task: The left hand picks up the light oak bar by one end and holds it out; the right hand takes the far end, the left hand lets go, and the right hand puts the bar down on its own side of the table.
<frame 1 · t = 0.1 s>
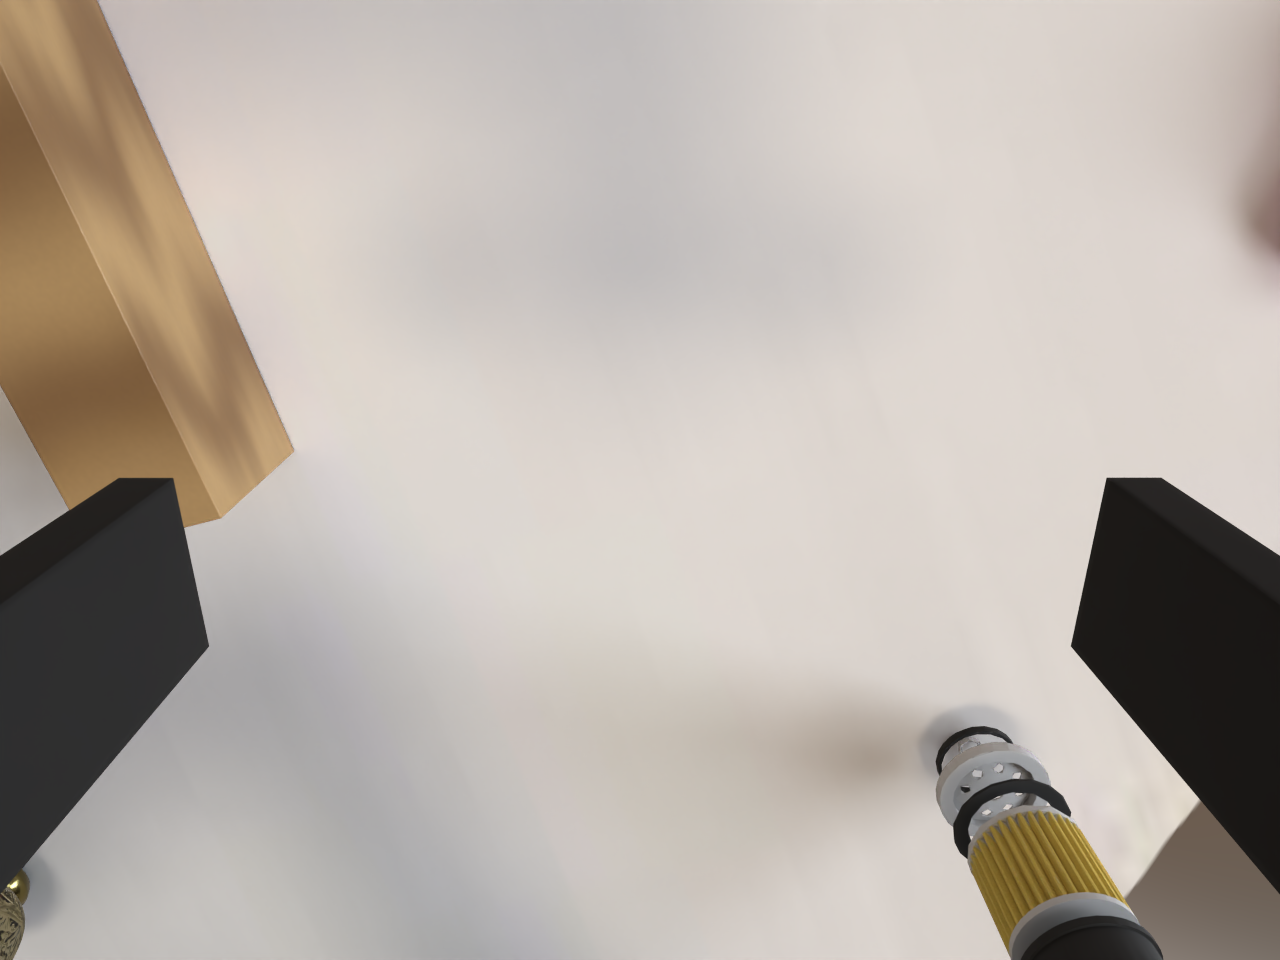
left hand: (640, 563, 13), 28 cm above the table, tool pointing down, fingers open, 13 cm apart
cup: (6, 873, 51), on the table
bar: (90, 143, 37), on the table
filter: (967, 743, 48), on the table
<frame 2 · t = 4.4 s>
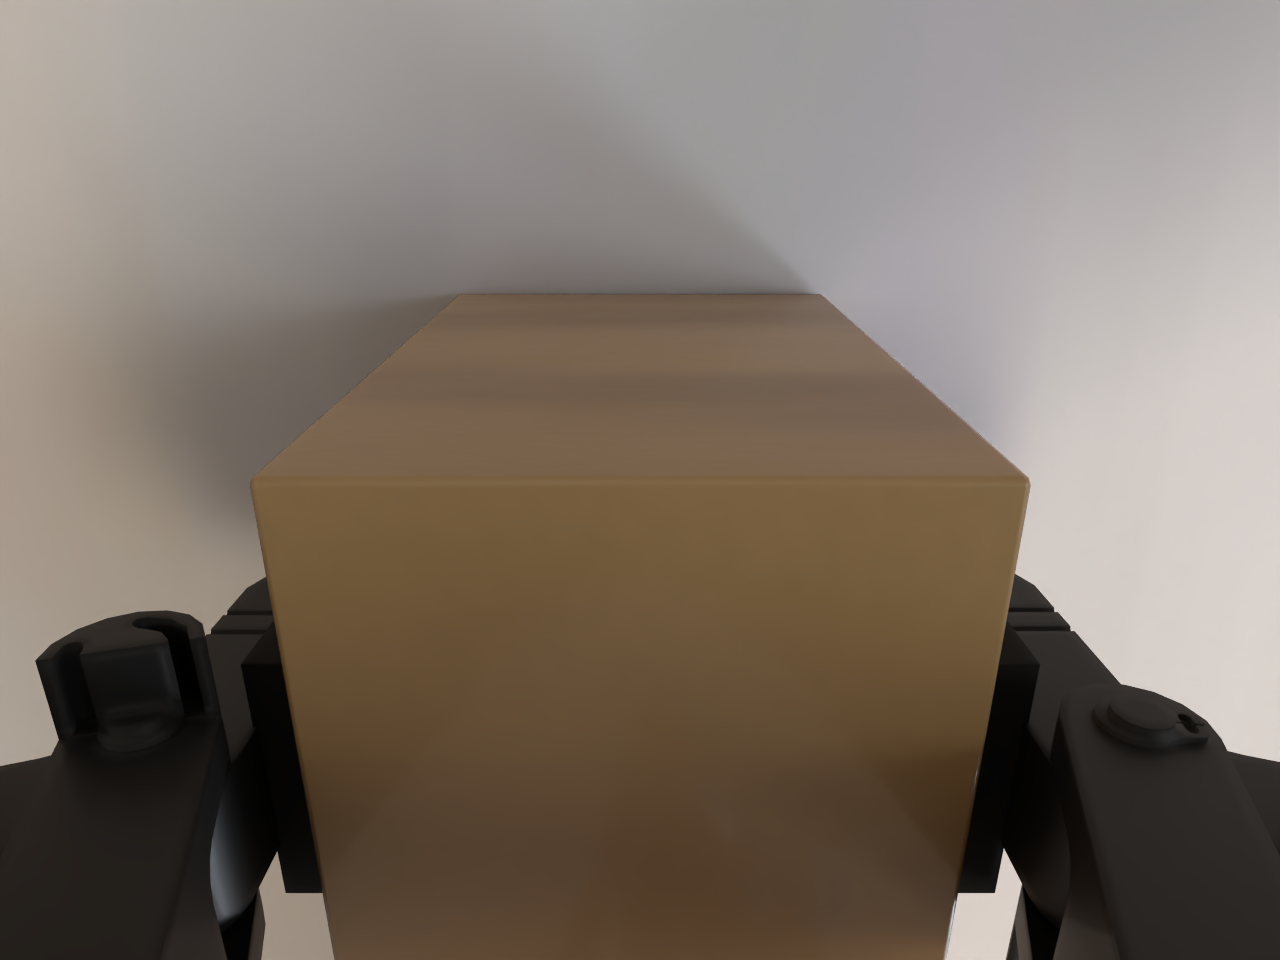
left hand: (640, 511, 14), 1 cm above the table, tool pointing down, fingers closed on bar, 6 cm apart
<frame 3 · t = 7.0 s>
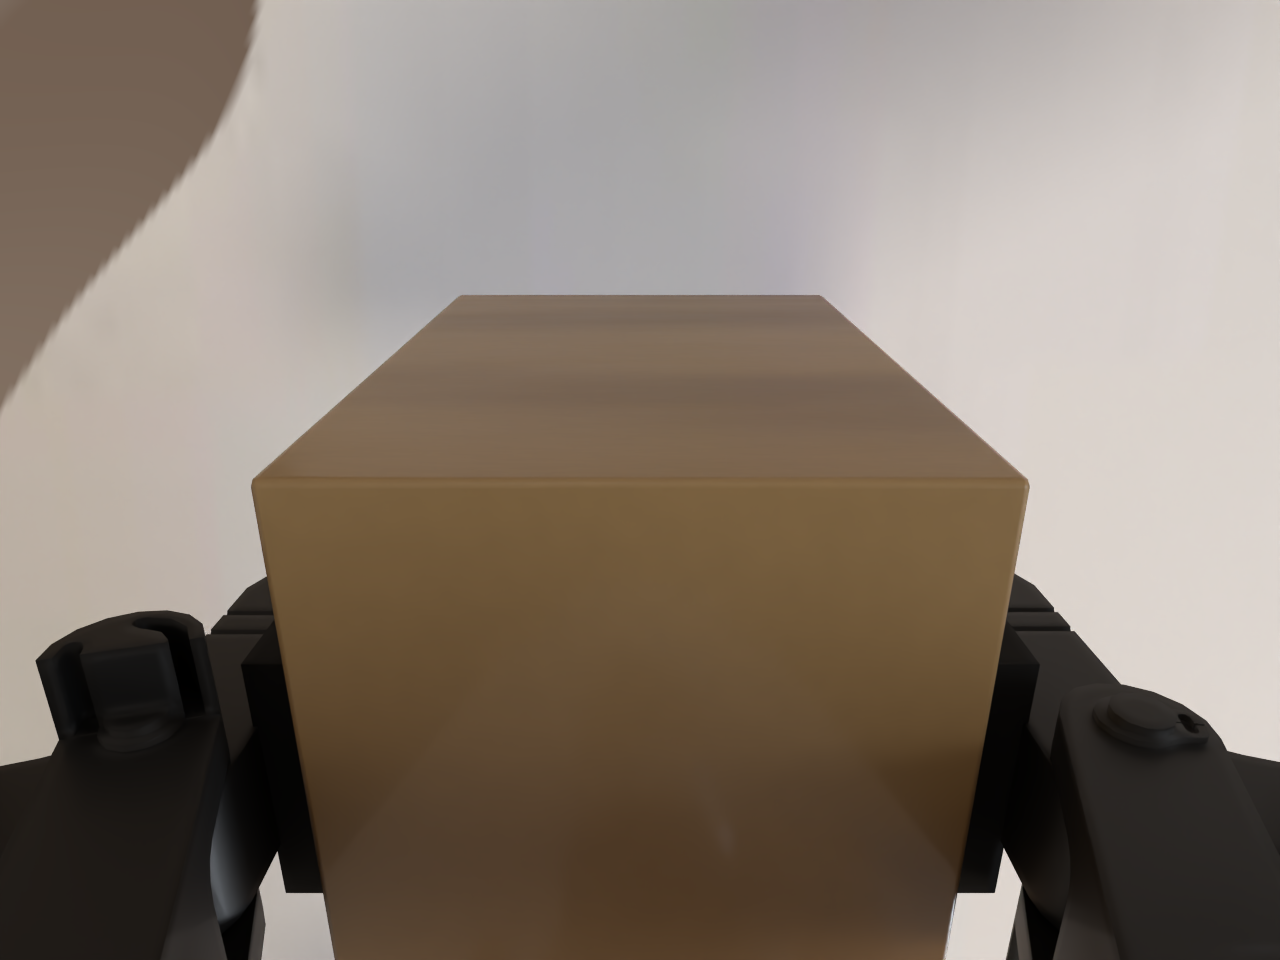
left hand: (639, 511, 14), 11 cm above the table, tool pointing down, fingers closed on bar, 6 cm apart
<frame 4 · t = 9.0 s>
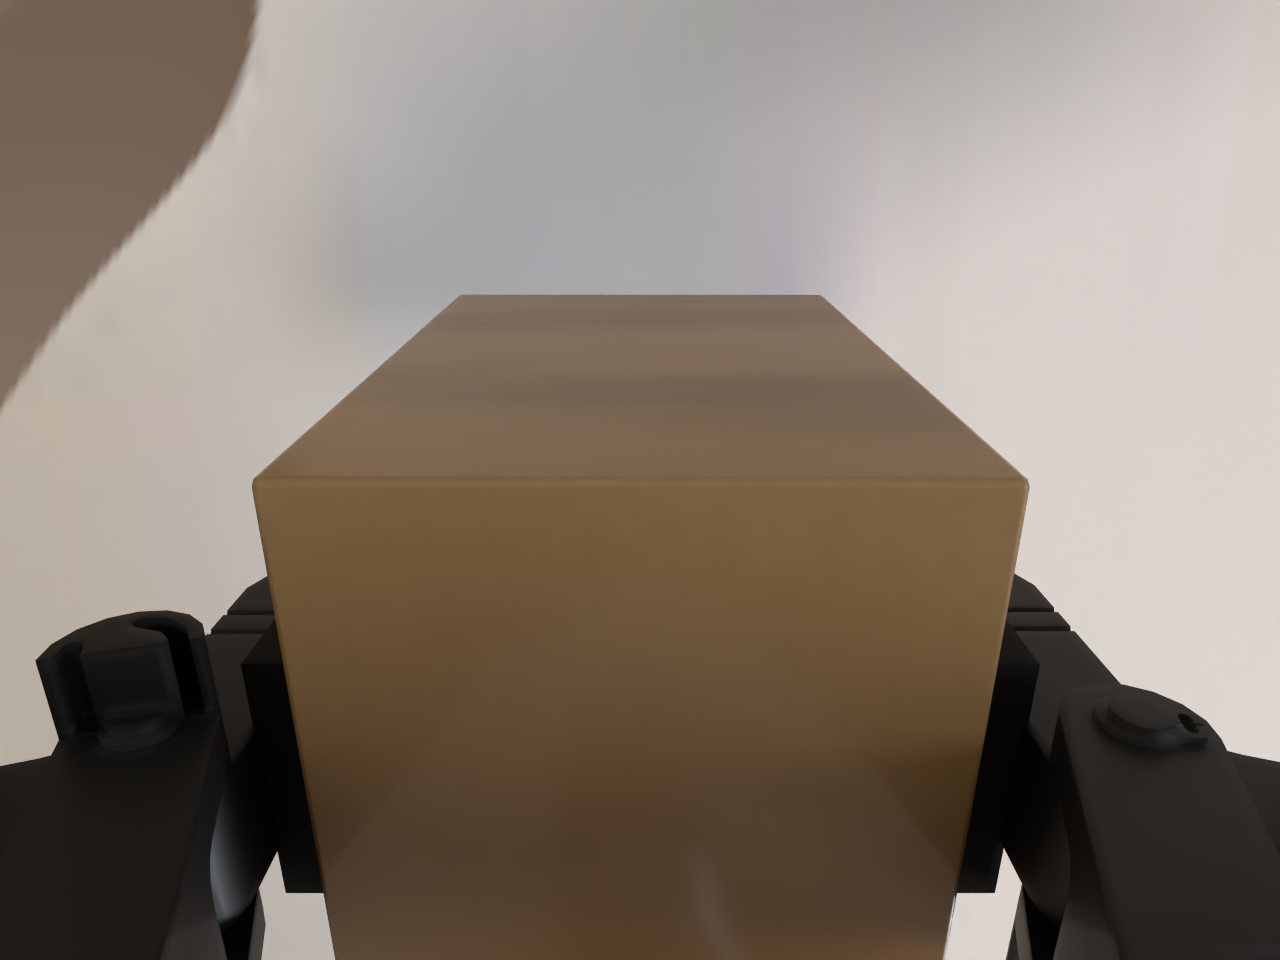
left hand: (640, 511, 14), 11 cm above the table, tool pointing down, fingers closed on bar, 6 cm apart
when the left hand's fingers open (11 cm above the table, at t = 9.6 s): bar stays where it is, held by the right hand.
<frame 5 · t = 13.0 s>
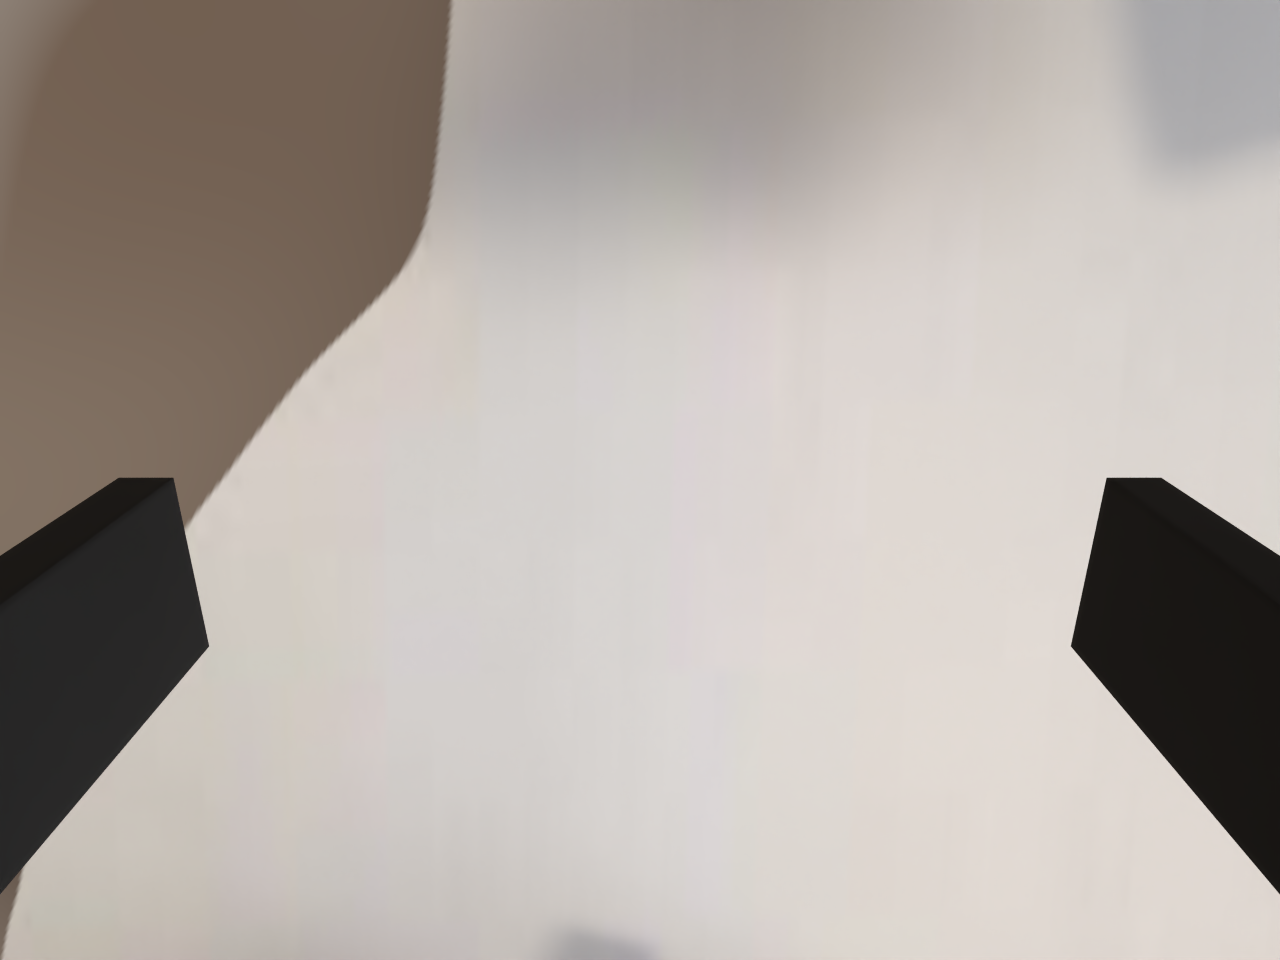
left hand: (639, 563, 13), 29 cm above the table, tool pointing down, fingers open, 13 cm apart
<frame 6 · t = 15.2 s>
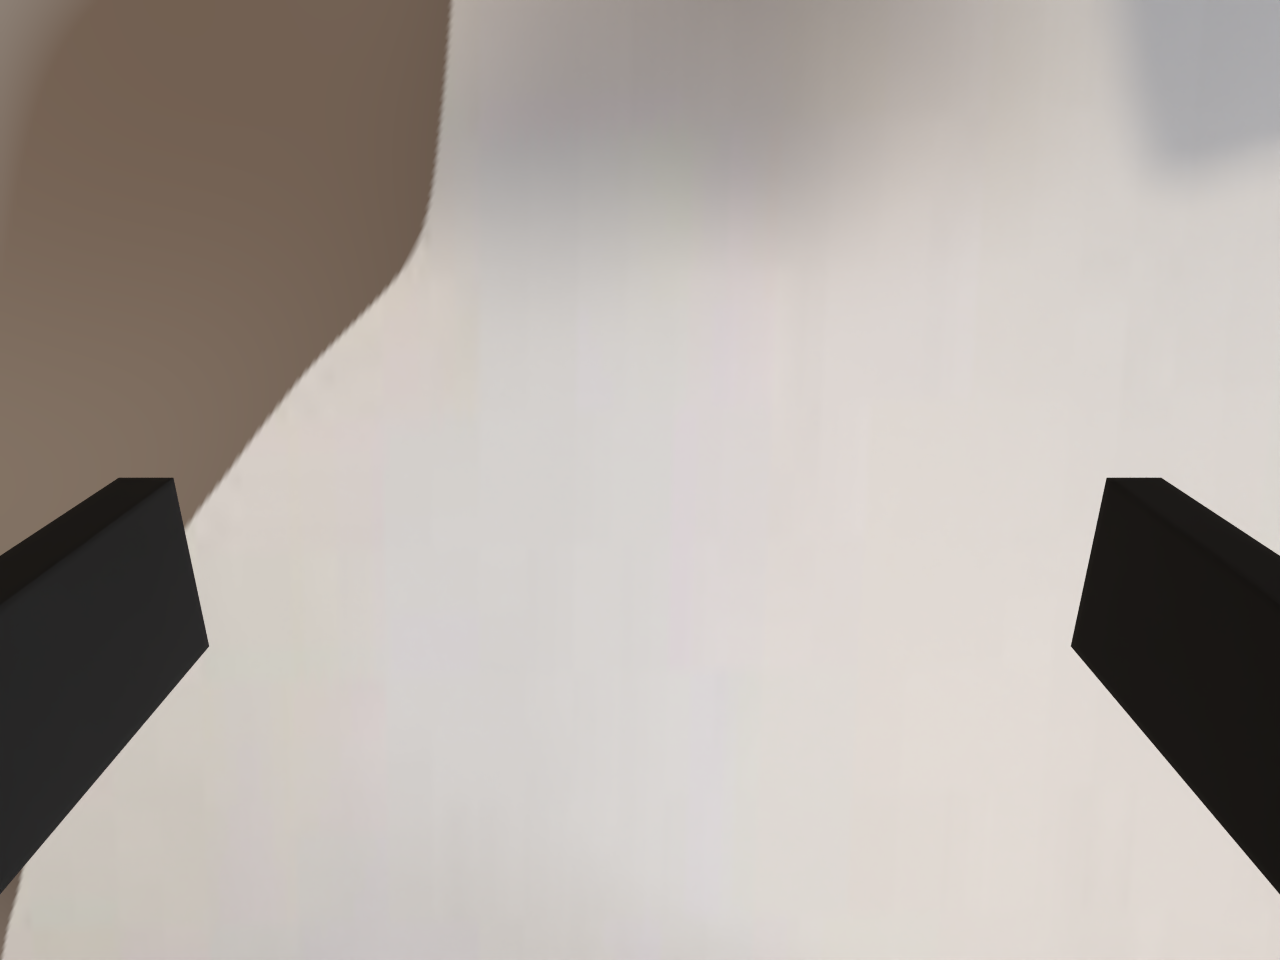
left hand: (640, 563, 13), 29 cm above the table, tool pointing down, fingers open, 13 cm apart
when the right hand's fingers open (2 cm above the table, at t = 17.2 s): bar drops 2 cm, on the table.
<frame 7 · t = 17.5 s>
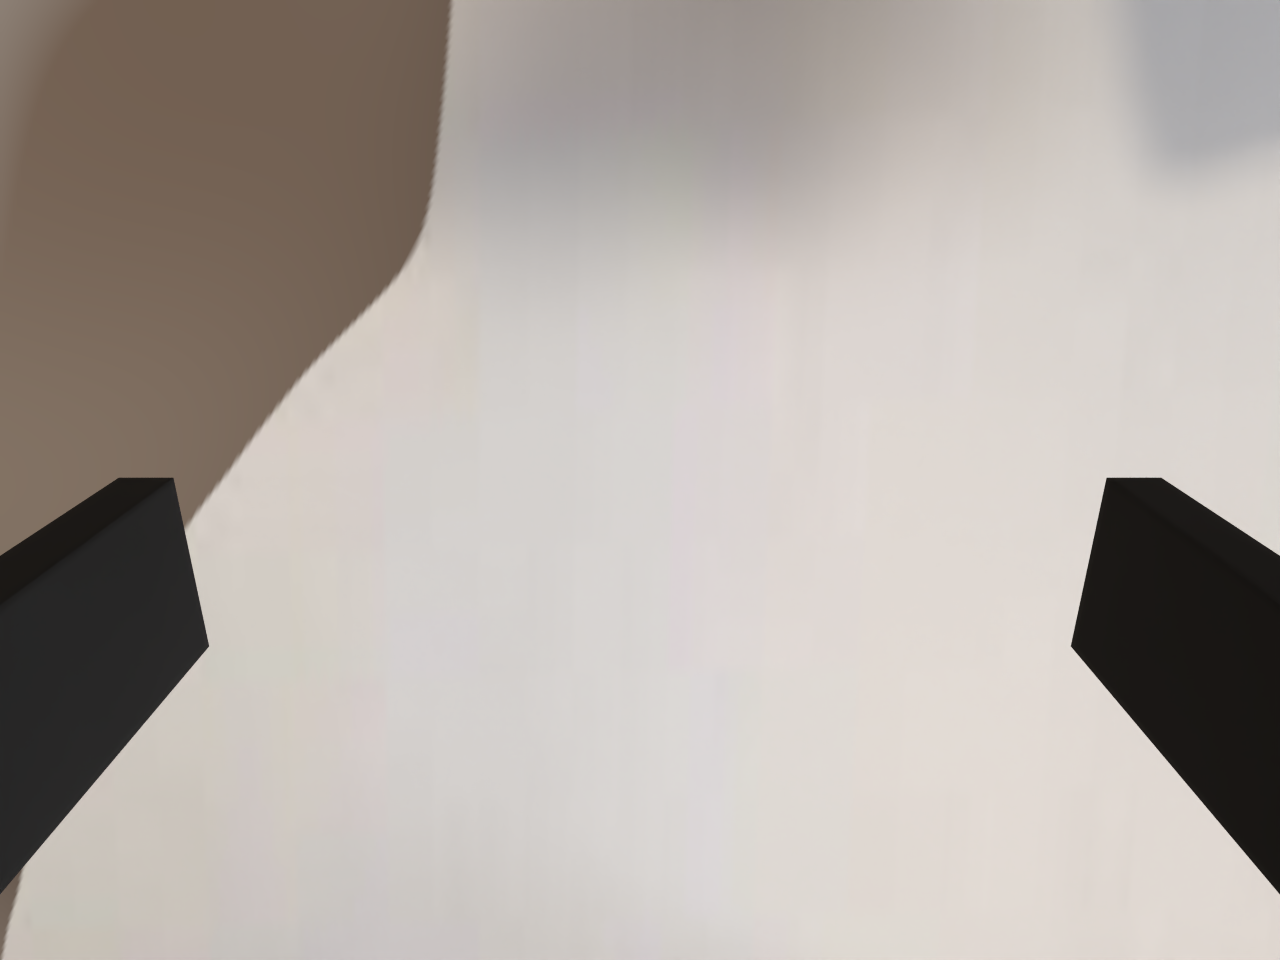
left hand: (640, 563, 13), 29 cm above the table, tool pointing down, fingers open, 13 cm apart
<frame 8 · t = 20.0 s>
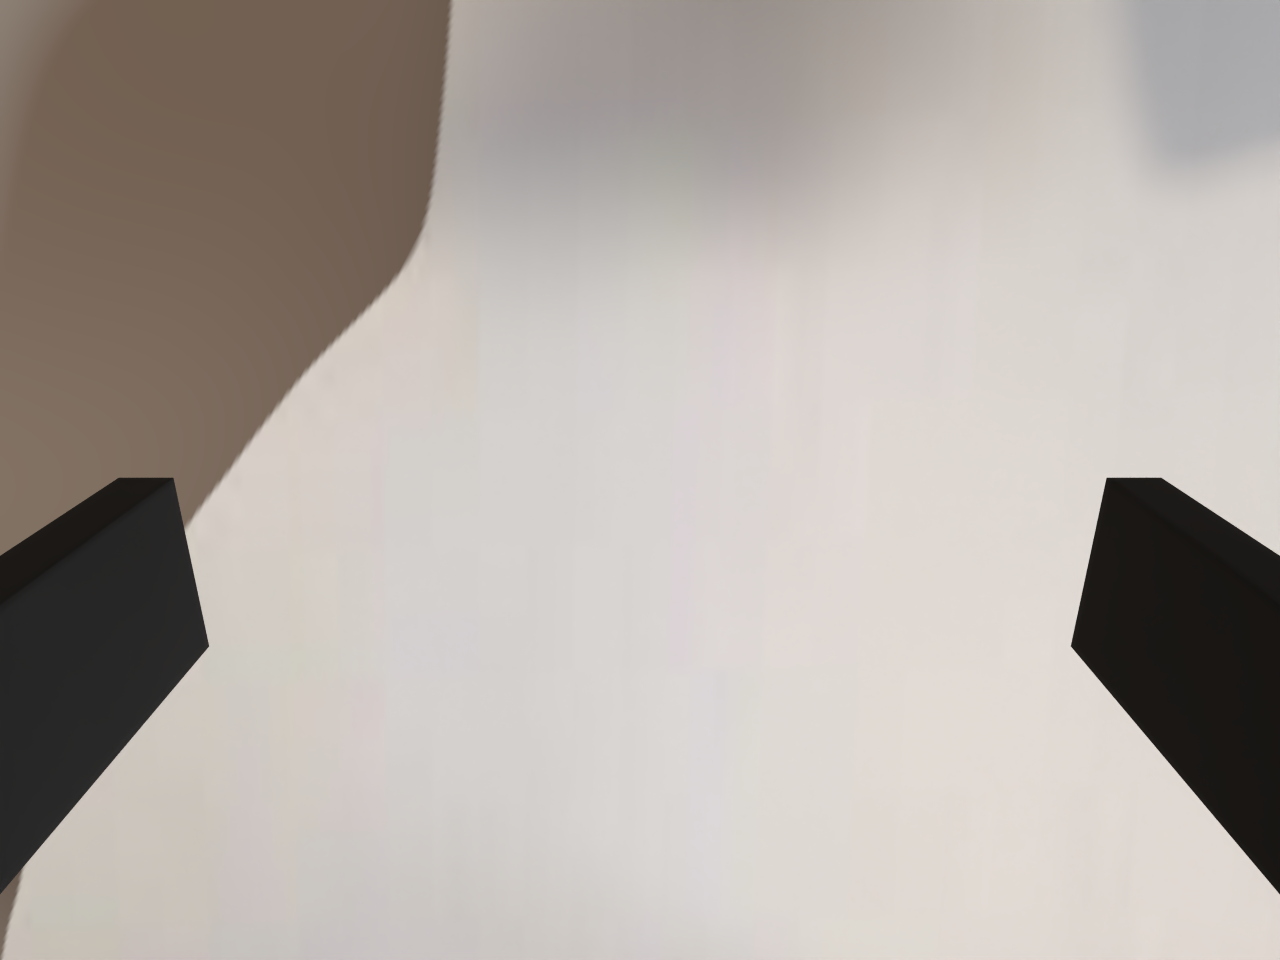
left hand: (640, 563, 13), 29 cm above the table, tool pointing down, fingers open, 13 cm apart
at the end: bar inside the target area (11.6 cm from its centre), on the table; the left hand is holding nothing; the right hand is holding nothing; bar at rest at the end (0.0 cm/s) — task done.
